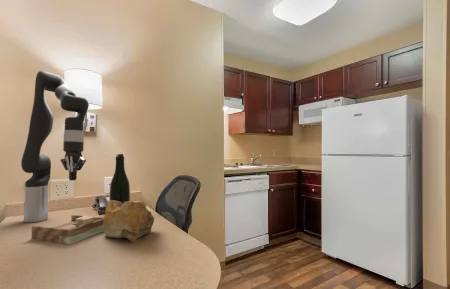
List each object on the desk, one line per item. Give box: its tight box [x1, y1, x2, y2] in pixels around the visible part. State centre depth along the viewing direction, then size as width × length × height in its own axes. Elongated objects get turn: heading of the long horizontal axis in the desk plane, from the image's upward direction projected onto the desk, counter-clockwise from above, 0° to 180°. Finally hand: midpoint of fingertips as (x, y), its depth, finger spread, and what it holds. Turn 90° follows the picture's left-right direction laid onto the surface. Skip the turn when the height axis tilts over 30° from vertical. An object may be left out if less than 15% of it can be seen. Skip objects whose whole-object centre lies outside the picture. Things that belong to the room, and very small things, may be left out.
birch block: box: [76, 215, 95, 227], centre depth 98 cm, size 4×4×4 cm
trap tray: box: [31, 214, 104, 245], centre depth 100 cm, size 20×18×5 cm
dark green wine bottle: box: [108, 153, 131, 204], centre depth 131 cm, size 10×10×33 cm
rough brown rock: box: [103, 200, 155, 243], centre depth 97 cm, size 23×17×15 cm
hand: (72, 180), depth 106 cm, fingers closed
